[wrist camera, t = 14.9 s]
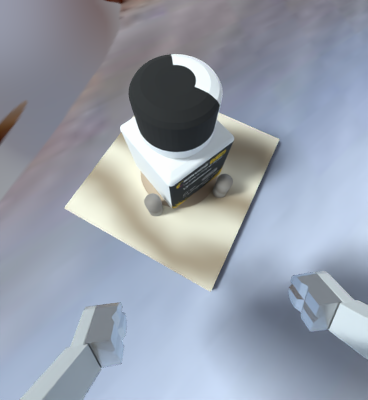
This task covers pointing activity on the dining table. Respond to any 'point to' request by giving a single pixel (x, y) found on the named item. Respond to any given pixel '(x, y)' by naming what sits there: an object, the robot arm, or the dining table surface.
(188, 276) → the stub cradle
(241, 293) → the dining table surface
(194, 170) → the medicine bottle
